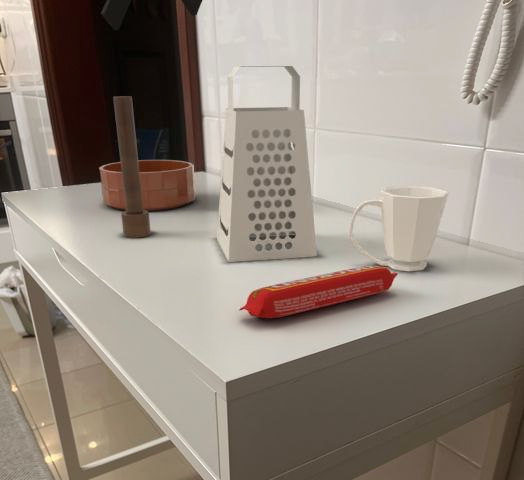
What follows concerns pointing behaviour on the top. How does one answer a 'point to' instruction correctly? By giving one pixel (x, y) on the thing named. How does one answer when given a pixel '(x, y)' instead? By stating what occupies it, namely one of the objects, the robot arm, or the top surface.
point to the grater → (265, 180)
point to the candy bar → (318, 291)
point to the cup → (407, 224)
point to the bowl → (151, 184)
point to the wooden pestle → (130, 171)
